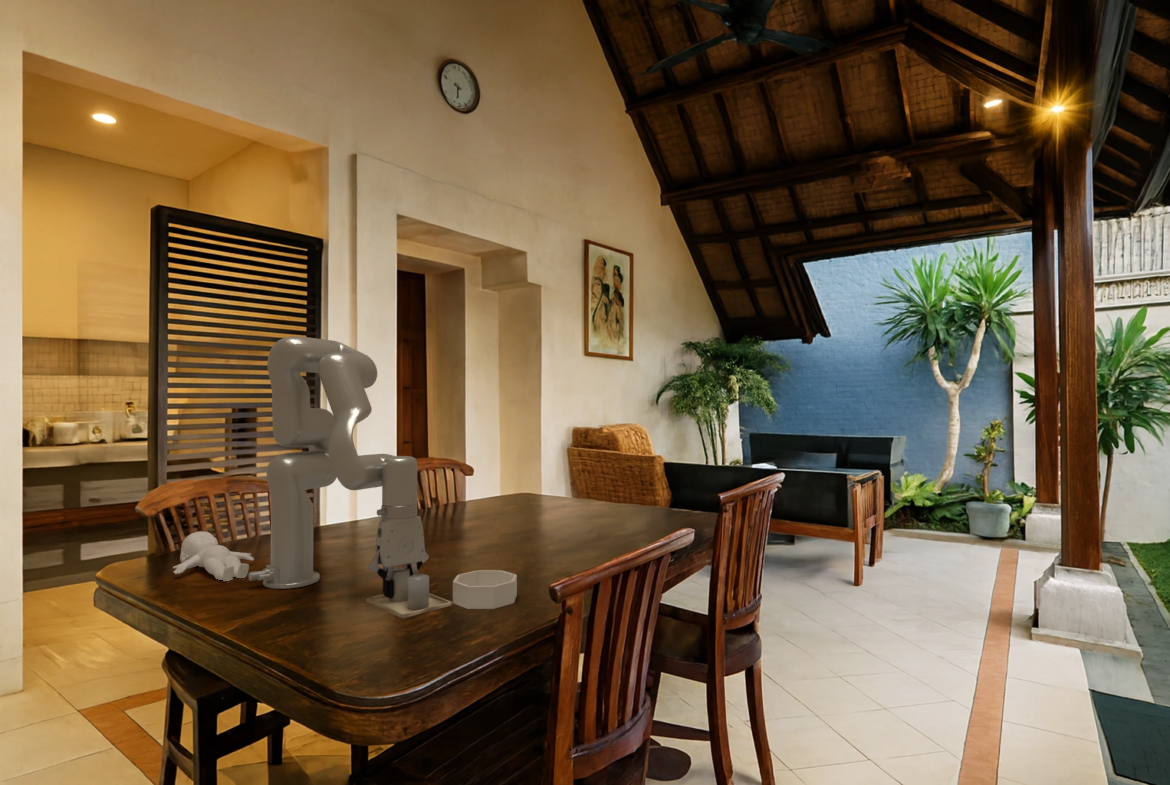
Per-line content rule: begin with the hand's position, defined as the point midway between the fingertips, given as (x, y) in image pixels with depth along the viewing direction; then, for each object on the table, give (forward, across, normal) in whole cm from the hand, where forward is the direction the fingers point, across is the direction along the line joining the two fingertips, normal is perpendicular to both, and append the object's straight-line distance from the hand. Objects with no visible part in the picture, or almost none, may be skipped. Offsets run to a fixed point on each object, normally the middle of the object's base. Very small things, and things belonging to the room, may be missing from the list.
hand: (399, 593), depth 142 cm
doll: (+2, -21, +58) cm, 62 cm away
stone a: (+1, 0, 0) cm, 1 cm away
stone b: (+1, 0, -8) cm, 8 cm away
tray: (+2, 0, -4) cm, 4 cm away
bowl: (+2, +14, -14) cm, 19 cm away
